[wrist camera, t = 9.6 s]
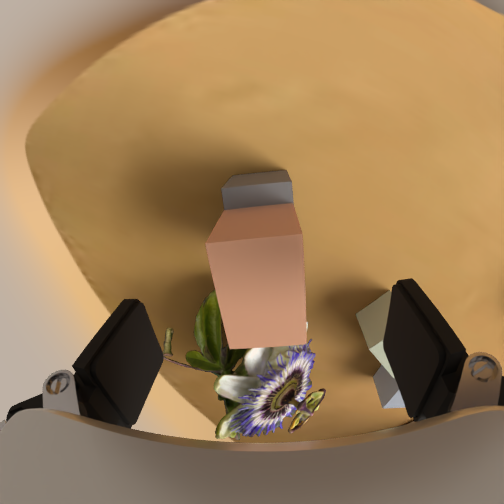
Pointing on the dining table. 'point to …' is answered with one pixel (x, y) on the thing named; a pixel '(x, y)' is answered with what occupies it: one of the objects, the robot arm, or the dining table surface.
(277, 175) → the charcoal brick
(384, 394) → the slate-blue brick
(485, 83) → the dining table surface
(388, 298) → the sage brick
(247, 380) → the passion flower
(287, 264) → the terracotta brick
